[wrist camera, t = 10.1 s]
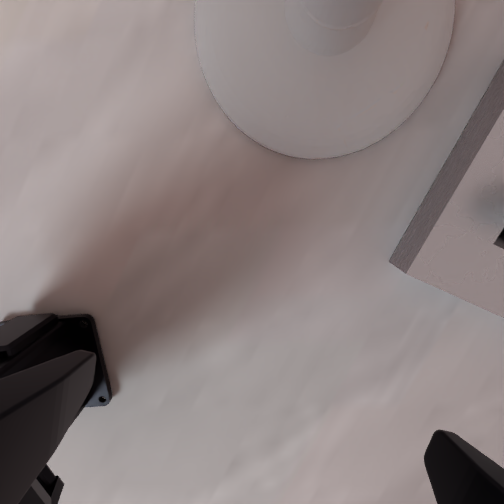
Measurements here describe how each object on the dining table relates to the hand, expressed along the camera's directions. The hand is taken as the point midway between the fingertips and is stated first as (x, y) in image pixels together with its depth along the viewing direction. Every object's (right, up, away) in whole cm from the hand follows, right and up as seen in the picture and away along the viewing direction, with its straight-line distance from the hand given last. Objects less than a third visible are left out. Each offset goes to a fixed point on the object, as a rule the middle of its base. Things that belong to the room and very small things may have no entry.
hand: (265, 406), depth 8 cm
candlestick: (+3, +15, +9) cm, 18 cm away
